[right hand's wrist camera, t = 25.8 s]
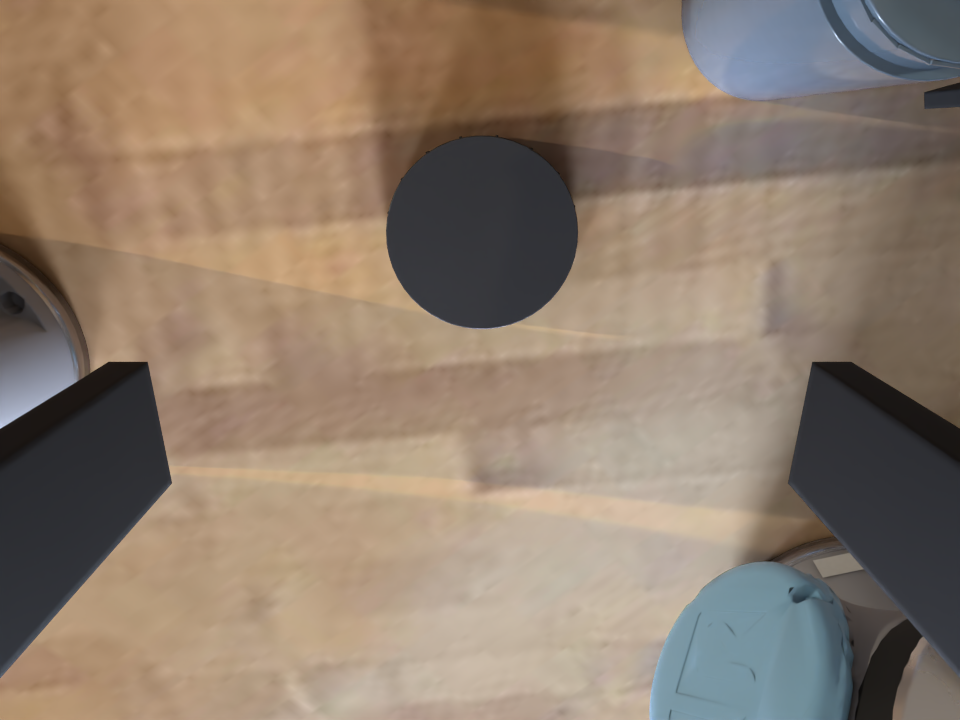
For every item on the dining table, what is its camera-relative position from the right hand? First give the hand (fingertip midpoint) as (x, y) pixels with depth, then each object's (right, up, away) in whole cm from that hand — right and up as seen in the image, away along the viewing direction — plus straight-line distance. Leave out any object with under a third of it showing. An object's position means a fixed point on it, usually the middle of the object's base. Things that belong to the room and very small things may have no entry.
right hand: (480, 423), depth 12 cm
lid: (0, +8, +23) cm, 24 cm away
